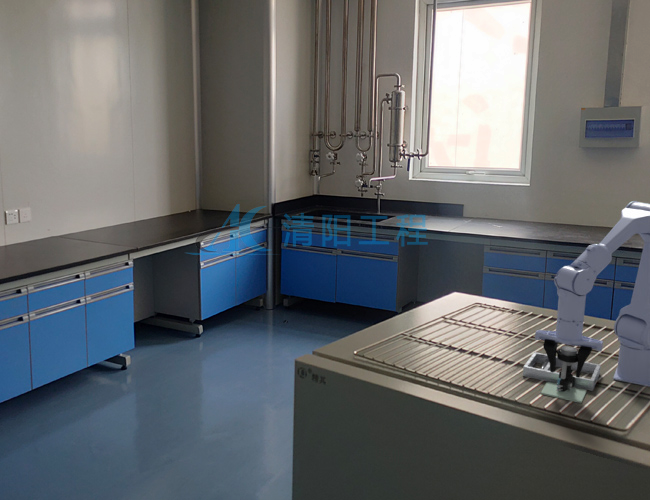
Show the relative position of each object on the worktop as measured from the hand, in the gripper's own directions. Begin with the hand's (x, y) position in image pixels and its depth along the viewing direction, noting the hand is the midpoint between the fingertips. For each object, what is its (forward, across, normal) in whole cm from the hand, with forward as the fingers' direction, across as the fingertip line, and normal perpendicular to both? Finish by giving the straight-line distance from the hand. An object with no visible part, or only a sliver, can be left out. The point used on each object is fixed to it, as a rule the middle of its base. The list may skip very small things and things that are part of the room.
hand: (565, 373), depth 142 cm
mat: (+5, 0, 0) cm, 5 cm away
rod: (+4, -8, +10) cm, 14 cm away
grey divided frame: (+5, -2, +10) cm, 12 cm away
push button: (+5, 0, +1) cm, 5 cm away
